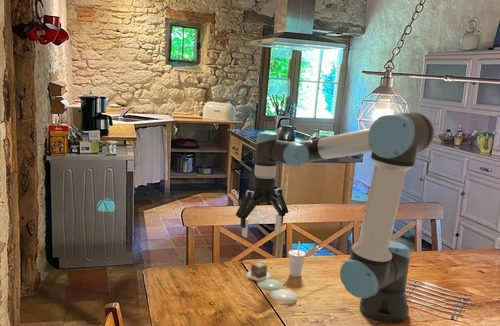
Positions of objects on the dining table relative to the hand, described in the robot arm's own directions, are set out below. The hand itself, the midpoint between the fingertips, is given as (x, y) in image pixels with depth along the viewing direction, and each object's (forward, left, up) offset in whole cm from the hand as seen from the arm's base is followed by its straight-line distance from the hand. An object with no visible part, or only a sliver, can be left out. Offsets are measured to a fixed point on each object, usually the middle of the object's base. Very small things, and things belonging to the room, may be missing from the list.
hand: (261, 234), depth 165 cm
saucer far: (0, 0, -17) cm, 17 cm away
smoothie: (-5, -13, -17) cm, 22 cm away
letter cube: (0, 0, -16) cm, 16 cm away
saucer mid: (-9, 0, -17) cm, 19 cm away
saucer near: (-17, 0, -17) cm, 24 cm away
